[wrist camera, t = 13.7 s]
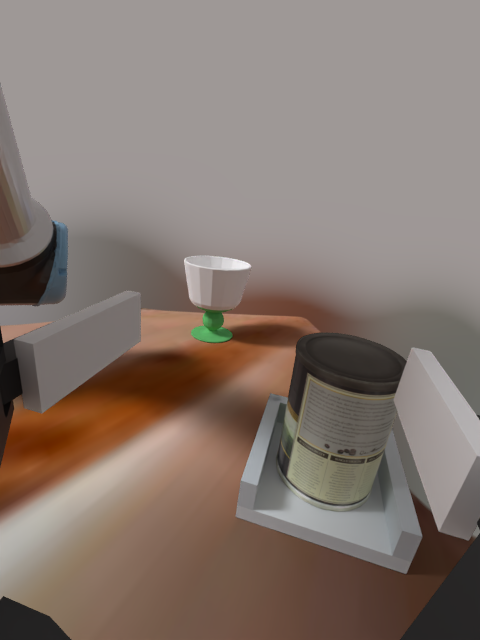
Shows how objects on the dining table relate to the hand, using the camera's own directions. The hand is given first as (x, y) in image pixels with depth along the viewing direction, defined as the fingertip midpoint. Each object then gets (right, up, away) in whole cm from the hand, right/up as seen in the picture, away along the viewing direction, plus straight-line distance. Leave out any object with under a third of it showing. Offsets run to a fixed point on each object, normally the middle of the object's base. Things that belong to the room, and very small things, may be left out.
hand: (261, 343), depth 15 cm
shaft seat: (+9, -15, +24) cm, 30 cm away
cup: (-7, -2, +54) cm, 55 cm away
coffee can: (+8, -15, +19) cm, 26 cm away
